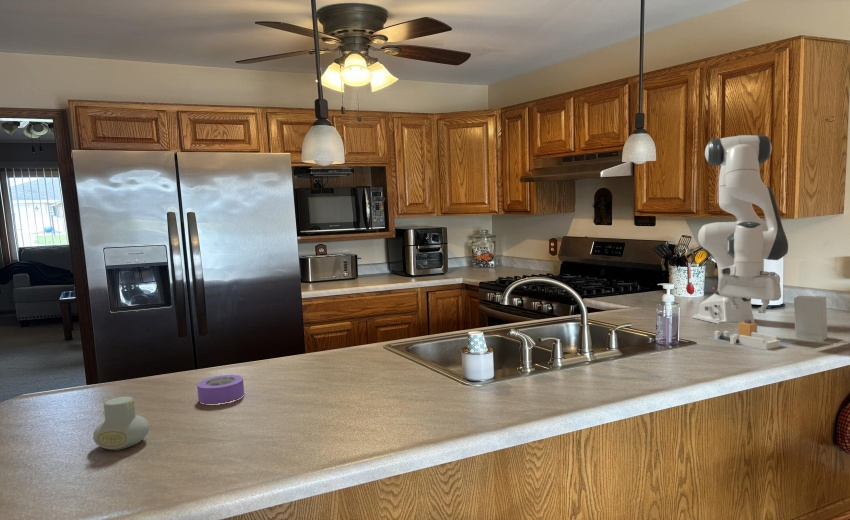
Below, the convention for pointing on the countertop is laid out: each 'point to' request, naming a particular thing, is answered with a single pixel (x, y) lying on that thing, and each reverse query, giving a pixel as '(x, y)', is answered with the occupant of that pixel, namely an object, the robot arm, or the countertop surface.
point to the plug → (747, 328)
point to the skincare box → (810, 317)
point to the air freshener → (120, 425)
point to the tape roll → (220, 389)
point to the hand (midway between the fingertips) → (748, 311)
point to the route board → (750, 340)
